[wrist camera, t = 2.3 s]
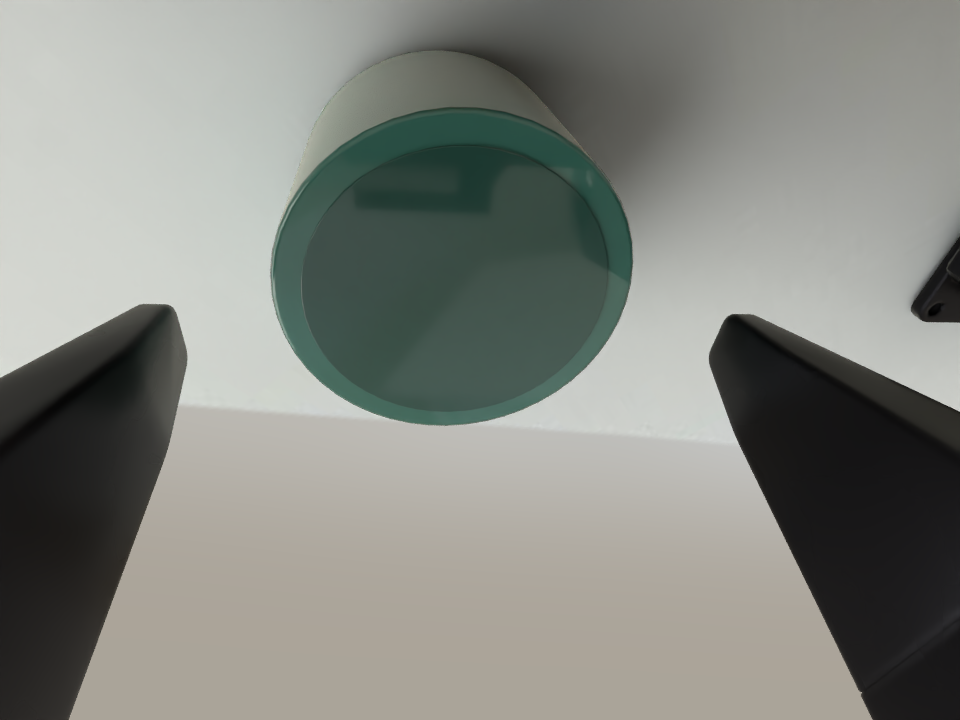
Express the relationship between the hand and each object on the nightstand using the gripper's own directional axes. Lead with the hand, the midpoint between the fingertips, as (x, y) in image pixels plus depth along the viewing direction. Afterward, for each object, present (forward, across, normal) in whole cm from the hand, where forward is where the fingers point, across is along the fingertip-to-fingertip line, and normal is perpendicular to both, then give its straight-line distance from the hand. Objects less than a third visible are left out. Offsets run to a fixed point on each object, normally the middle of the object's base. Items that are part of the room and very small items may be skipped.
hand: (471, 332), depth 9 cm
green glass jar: (+6, 0, 0) cm, 6 cm away
